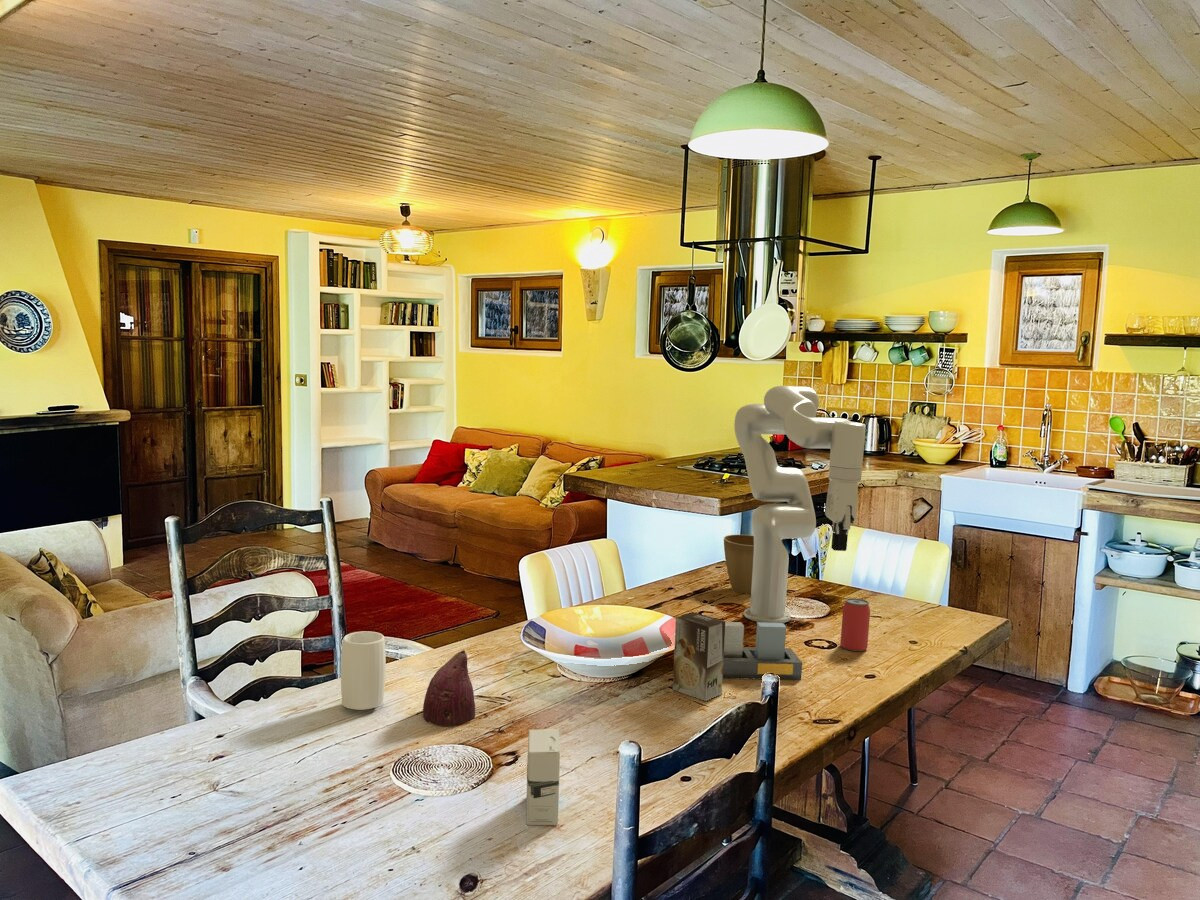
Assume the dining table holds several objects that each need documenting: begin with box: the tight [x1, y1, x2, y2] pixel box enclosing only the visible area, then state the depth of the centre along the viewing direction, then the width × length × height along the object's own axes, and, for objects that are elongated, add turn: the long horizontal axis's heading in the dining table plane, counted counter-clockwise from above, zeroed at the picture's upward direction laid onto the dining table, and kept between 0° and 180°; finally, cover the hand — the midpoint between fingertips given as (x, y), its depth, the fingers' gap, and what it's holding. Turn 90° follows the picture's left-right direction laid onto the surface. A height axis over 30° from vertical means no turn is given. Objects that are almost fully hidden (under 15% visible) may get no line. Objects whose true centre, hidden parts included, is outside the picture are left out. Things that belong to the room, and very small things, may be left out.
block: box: [754, 622, 787, 659], centre depth 206 cm, size 3×6×10 cm, turn 93°
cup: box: [340, 630, 387, 711], centre depth 176 cm, size 8×8×14 cm
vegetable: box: [422, 649, 476, 728], centre depth 174 cm, size 10×10×15 cm
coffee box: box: [672, 611, 726, 702], centre depth 191 cm, size 9×6×16 cm
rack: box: [722, 621, 803, 681], centre depth 205 cm, size 10×22×11 cm, turn 94°
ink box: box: [526, 728, 561, 826], centre depth 139 cm, size 8×5×12 cm, turn 5°
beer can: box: [839, 597, 871, 652], centre depth 225 cm, size 7×7×12 cm
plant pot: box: [723, 534, 754, 594], centre depth 274 cm, size 15×15×16 cm
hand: (838, 549), depth 215 cm, fingers closed
